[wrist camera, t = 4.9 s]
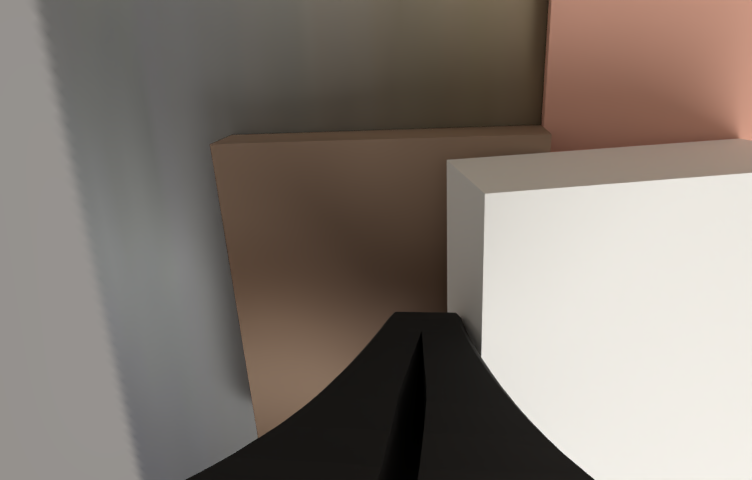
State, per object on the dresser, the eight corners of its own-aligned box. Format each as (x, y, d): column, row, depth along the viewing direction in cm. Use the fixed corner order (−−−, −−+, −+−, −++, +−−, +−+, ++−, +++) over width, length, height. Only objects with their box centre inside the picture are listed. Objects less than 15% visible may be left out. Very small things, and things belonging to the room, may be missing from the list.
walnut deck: (523, 425, 14) (529, 459, 13) (273, 414, 15) (259, 444, 14) (541, 125, 11) (551, 134, 10) (231, 134, 12) (209, 144, 11)
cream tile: (685, 421, 13) (765, 503, 11) (448, 448, 12) (477, 540, 10) (739, 138, 10) (860, 163, 8) (447, 159, 10) (484, 193, 8)
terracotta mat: (868, 534, 14) (876, 544, 13) (518, 509, 15) (519, 518, 15) (1100, -72, 9) (1121, -76, 9) (550, -32, 10) (553, -33, 10)
